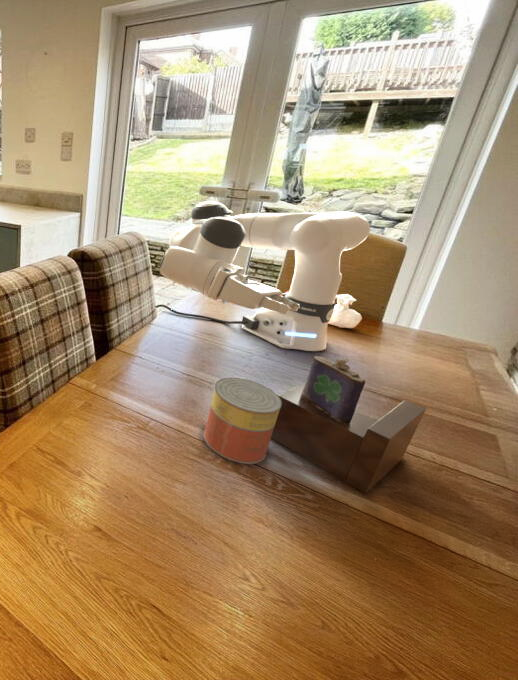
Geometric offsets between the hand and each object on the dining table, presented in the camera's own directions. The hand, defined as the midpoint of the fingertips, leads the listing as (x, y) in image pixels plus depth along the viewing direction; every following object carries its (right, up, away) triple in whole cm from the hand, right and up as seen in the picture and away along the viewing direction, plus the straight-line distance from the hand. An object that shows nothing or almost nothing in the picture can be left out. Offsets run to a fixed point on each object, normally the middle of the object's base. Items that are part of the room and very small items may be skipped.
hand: (293, 309), depth 81 cm
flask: (+2, -19, -6) cm, 20 cm away
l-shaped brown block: (+6, -28, -2) cm, 29 cm away
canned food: (-13, -27, -1) cm, 30 cm away
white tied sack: (+52, -6, +53) cm, 75 cm away
